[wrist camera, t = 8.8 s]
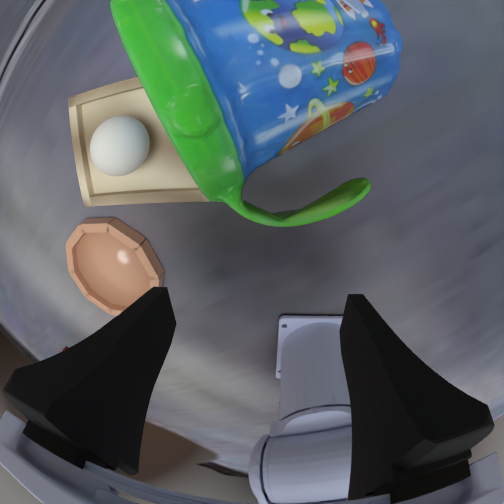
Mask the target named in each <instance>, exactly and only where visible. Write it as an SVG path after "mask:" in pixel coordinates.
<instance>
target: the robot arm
mask: <svg viewBox="0 0 504 504" xmlns="http://www.w3.org/2000/svg"><path fill="white" fill-rule="evenodd" d="M283 324H286V325H283ZM175 327H176V320H175V316H174V313H173V309H172V305H171V301H170V297H169V294H168V289H167V287H156V286H154V287H152V288H151V289H150V290H148V291H147V292H146V293H144V294H143V295H142V296H141V297H140V298H138V299H137V300H136V301H135V302H134V303H132V304H131V305H130V306H129V307H127V308H126V309H125V310H124V311H123V312H121V313H120V314H119V315H118V316H116V317H115V318H114V319H112V320H111V321H110V322H108V323H107V324H106V325H104V326H103V327H102V328H101V329H99V330H98V331H96V332H95V333H93V334H92V335H90V336H89V337H87V338H86V339H84V340H82V341H81V342H79V343H77V344H76V345H74V346H72V347H70V348H68V349H66V350H64V351H62V352H61V353H58V354H56V355H54V356H52V357H50V358H47V359H45V360H42V361H40V362H37V363H34V364H31V365H28V366H25V367H21V368H18V369H15V371H14V372H13V374H12V375H11V377H10V379H9V381H8V382H7V384H6V385H5V387H4V389H3V394H4V396H5V397H6V398H7V399H8V400H9V402H10V403H12V405H13V406H14V407H15V408H16V409H18V410H19V411H20V412H21V413H22V414H23V415H24V416H25V417H26V418H27V419H28V422H27V424H25V423H24V422H23V421H21V420H20V419H19V418H17V417H16V416H14V415H13V414H12V413H10V412H9V411H5V413H4V415H3V417H2V419H1V421H0V464H1V465H2V466H3V467H4V468H5V469H6V470H7V471H8V472H9V473H10V474H11V475H12V476H13V477H14V478H15V479H16V480H18V481H19V483H21V484H22V485H23V486H24V487H25V488H26V489H27V490H28V491H29V492H30V493H31V494H32V495H34V496H35V497H36V498H37V499H38V500H39V501H41V502H42V503H43V504H138V503H135V502H132V501H130V500H127V499H124V498H122V497H120V496H119V494H118V492H117V491H116V490H119V491H121V492H123V493H126V494H129V495H132V496H134V497H137V498H140V499H143V500H147V501H149V502H153V503H156V504H250V503H239V502H231V501H223V500H216V499H210V498H204V497H198V496H193V495H189V494H184V493H179V492H175V491H171V490H167V489H164V488H160V487H156V486H153V485H149V484H146V483H143V482H140V481H137V480H134V479H131V478H128V477H125V476H123V475H120V474H117V473H115V472H112V471H109V470H107V468H109V469H111V470H114V471H115V470H117V471H119V472H122V473H125V474H128V475H135V474H136V473H138V467H139V456H140V447H141V440H142V433H143V428H144V423H145V418H146V413H147V409H148V405H149V401H150V397H151V394H152V391H153V388H154V385H155V382H156V380H157V377H158V375H159V373H160V370H161V368H162V365H163V363H164V360H165V358H166V355H167V353H168V350H169V348H170V345H171V342H172V339H173V335H174V331H175ZM276 378H278V379H281V383H280V404H279V421H278V422H273V423H271V427H270V434H266V435H263V436H262V437H261V438H260V439H259V440H258V442H257V443H256V445H255V446H254V448H253V450H252V452H251V456H250V460H249V481H250V486H251V488H252V491H253V493H254V495H255V496H256V497H257V499H258V502H259V504H504V483H503V478H502V473H501V467H500V463H499V458H498V454H497V452H494V453H492V454H490V455H488V456H486V457H484V458H482V459H480V460H478V461H476V462H474V463H472V464H470V465H469V463H468V459H469V458H471V456H472V454H471V450H470V449H471V448H472V447H474V446H475V445H476V444H478V443H479V442H480V441H481V440H483V439H484V438H485V437H486V436H488V435H489V434H490V433H491V432H492V430H493V428H494V422H493V419H492V416H491V413H490V410H489V408H488V405H486V404H484V403H482V402H481V401H479V400H477V399H475V398H473V397H471V396H469V395H467V394H466V393H464V392H463V391H461V390H459V389H458V388H456V387H455V386H453V385H452V384H450V383H449V382H448V381H446V380H445V379H443V378H442V377H441V376H440V375H438V374H437V373H436V372H434V371H433V370H432V369H431V368H430V367H428V366H427V365H426V364H425V363H424V362H423V361H422V360H421V359H420V358H418V357H417V356H416V355H415V354H414V353H413V352H412V351H411V350H410V349H409V348H408V347H407V346H406V345H405V344H404V343H403V342H402V340H401V339H400V338H399V337H398V336H397V335H396V334H395V333H394V332H393V330H392V329H391V328H390V327H389V326H388V325H387V323H386V322H385V321H384V320H383V319H382V317H381V316H380V315H379V314H378V312H377V311H376V310H375V309H374V307H373V306H372V305H371V304H370V302H369V301H368V300H367V299H366V298H365V296H364V295H363V294H348V297H347V301H346V306H345V310H344V314H343V316H289V315H284V316H281V317H280V318H279V331H278V348H277V363H276ZM115 489H116V490H115ZM251 504H252V503H251Z"/></svg>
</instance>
